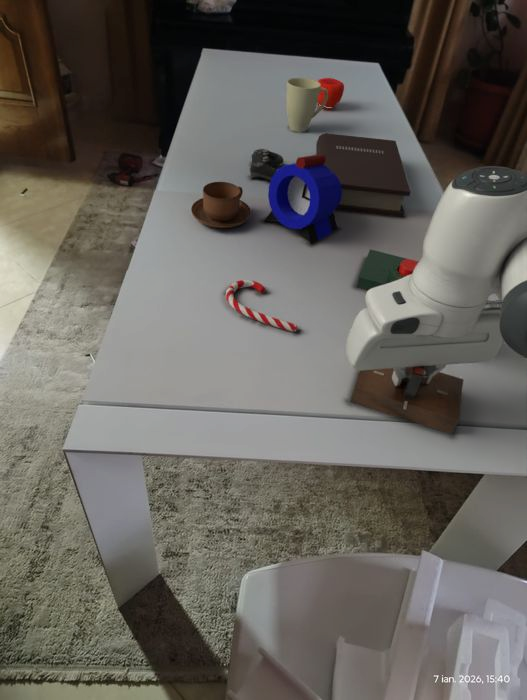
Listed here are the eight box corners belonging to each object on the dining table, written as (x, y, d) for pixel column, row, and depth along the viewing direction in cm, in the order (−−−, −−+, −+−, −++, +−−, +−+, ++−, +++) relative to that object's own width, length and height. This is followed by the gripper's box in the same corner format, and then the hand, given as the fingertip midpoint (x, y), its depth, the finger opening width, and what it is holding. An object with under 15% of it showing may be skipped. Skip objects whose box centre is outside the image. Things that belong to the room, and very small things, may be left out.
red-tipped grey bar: (406, 367, 72) (416, 342, 69) (416, 369, 72) (426, 345, 69) (403, 397, 68) (412, 372, 65) (413, 399, 68) (423, 375, 64)
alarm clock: (262, 222, 104) (268, 149, 94) (298, 203, 111) (308, 134, 101) (309, 246, 99) (321, 172, 89) (344, 224, 106) (359, 154, 96)
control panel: (456, 387, 74) (464, 373, 72) (450, 440, 67) (459, 425, 65) (363, 359, 77) (367, 344, 75) (348, 407, 70) (352, 392, 68)
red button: (420, 270, 89) (423, 262, 88) (417, 281, 87) (420, 273, 86) (400, 265, 90) (402, 256, 89) (397, 276, 88) (399, 267, 86)
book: (314, 155, 131) (318, 132, 127) (389, 163, 131) (395, 140, 127) (314, 207, 110) (318, 181, 106) (403, 217, 110) (410, 191, 106)
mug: (310, 138, 139) (316, 91, 131) (277, 130, 142) (281, 83, 133) (324, 126, 146) (331, 81, 138) (292, 118, 149) (297, 73, 141)
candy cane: (283, 336, 77) (214, 292, 84) (283, 342, 78) (214, 298, 85) (314, 313, 82) (246, 273, 88) (313, 319, 83) (245, 279, 89)
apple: (345, 112, 156) (350, 85, 151) (319, 113, 154) (323, 85, 149) (333, 102, 162) (338, 75, 157) (308, 103, 160) (311, 76, 155)
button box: (429, 275, 95) (436, 257, 92) (423, 306, 88) (430, 287, 85) (367, 258, 97) (372, 240, 95) (356, 287, 90) (360, 269, 87)
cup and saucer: (207, 199, 110) (207, 171, 105) (258, 212, 107) (260, 184, 103) (181, 224, 101) (180, 195, 97) (236, 239, 99) (237, 210, 94)
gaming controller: (283, 183, 117) (280, 162, 114) (251, 187, 118) (247, 167, 115) (283, 161, 126) (281, 141, 122) (254, 166, 127) (250, 146, 123)
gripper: (506, 284, 65) (467, 360, 74) (354, 290, 61) (333, 369, 70) (533, 316, 60) (488, 393, 70) (370, 325, 57) (346, 404, 66)
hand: (409, 381), depth 70 cm, fingers closed, pressing on control panel, rod knob
